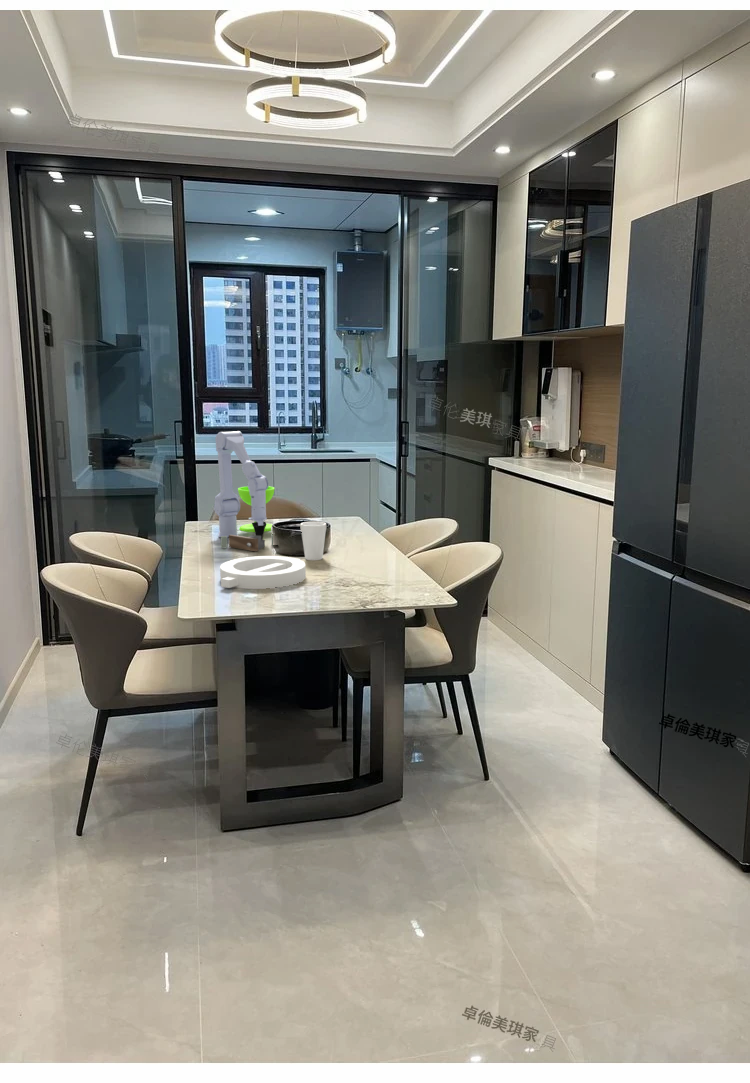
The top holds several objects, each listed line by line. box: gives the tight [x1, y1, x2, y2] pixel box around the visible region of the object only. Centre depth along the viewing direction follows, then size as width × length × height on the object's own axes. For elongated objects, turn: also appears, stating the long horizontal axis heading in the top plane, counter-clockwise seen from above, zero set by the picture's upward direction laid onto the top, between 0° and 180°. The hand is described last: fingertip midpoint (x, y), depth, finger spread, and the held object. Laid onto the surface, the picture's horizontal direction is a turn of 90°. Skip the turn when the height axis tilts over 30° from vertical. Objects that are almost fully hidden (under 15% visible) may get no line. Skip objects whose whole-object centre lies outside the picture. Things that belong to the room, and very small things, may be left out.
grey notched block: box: [248, 534, 266, 551], centre depth 310 cm, size 8×4×5 cm, turn 170°
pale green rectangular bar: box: [220, 533, 274, 549], centre depth 313 cm, size 2×22×4 cm, turn 102°
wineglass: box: [237, 485, 276, 533], centre depth 349 cm, size 16×16×18 cm
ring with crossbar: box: [219, 555, 307, 590], centre depth 264 cm, size 28×28×5 cm
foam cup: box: [300, 521, 327, 561], centre depth 292 cm, size 10×9×13 cm
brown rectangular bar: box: [228, 535, 259, 552], centre depth 307 cm, size 3×14×5 cm, turn 55°
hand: (259, 540), depth 319 cm, fingers closed
